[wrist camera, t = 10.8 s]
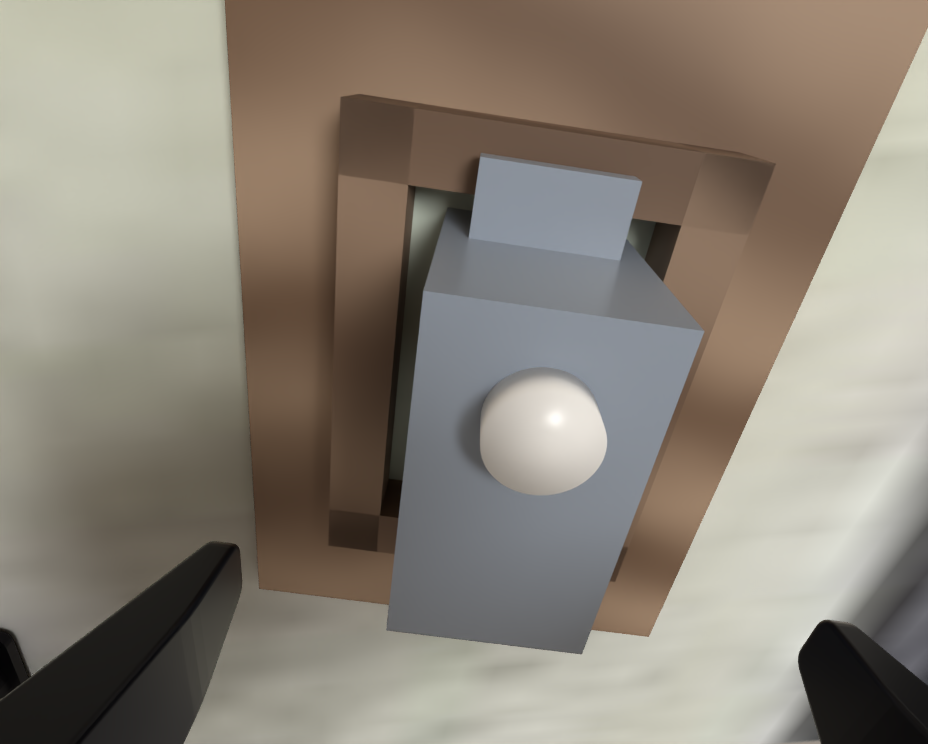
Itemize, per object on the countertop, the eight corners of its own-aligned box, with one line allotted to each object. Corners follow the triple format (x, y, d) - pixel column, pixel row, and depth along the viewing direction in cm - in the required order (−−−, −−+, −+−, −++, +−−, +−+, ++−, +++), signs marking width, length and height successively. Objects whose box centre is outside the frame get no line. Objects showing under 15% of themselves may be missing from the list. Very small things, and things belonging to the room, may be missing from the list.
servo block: (543, 518, 18) (570, 731, 12) (411, 500, 18) (375, 708, 12) (639, 166, 13) (768, 244, 7) (455, 138, 13) (429, 192, 7)
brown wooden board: (642, 614, 22) (662, 684, 20) (268, 567, 22) (239, 633, 19) (940, -69, 12) (1065, -108, 9) (233, -188, 11) (160, -265, 9)
